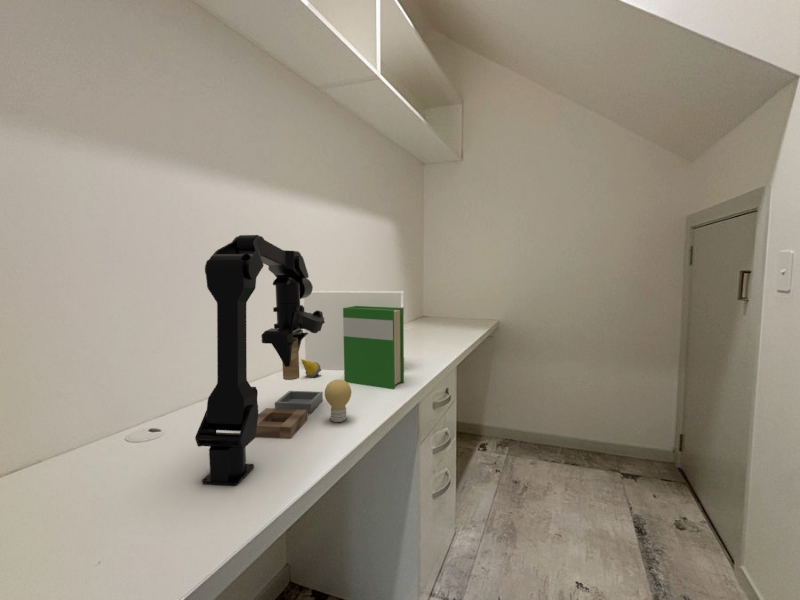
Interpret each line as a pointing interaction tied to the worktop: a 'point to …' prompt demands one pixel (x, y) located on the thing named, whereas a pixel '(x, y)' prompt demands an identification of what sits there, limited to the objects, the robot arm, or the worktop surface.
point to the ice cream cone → (311, 368)
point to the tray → (300, 400)
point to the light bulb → (338, 398)
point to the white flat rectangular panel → (339, 321)
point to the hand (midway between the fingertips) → (290, 364)
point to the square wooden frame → (280, 422)
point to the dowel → (292, 364)
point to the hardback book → (373, 346)
